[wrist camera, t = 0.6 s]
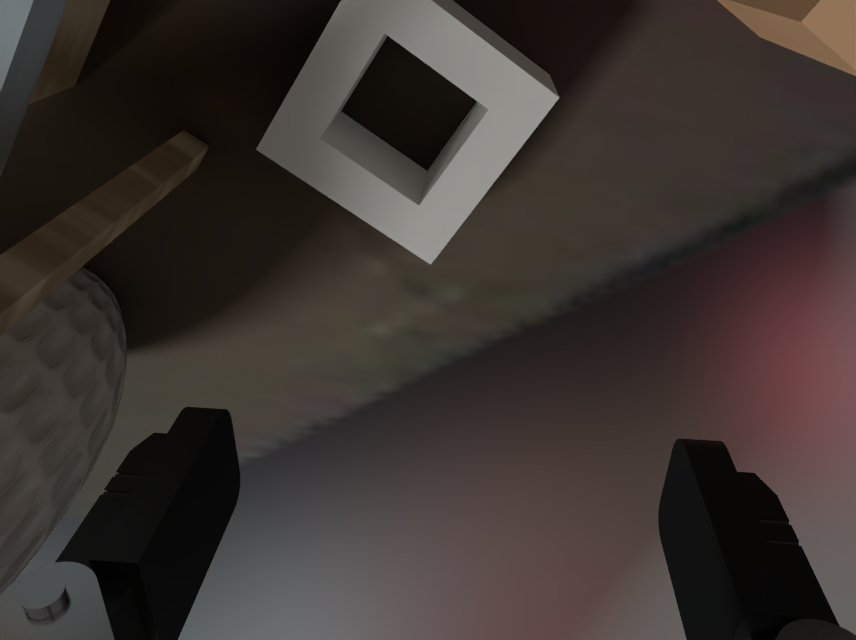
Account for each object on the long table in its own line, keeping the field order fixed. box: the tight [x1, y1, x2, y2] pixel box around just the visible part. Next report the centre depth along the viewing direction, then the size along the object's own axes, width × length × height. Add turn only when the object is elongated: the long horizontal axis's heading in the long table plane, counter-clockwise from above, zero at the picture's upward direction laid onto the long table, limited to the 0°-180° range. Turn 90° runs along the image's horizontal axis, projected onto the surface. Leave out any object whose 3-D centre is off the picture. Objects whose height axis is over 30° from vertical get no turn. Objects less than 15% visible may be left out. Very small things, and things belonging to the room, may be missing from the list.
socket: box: [256, 0, 560, 265], centre depth 31 cm, size 9×9×5 cm
